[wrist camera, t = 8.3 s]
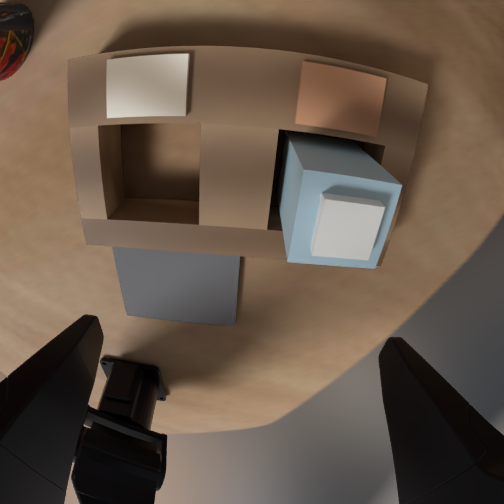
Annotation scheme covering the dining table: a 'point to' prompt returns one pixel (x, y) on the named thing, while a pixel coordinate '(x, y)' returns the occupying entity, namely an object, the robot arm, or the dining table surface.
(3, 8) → the deodorant
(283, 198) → the plug
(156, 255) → the pad
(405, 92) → the socket block
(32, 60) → the dining table surface
